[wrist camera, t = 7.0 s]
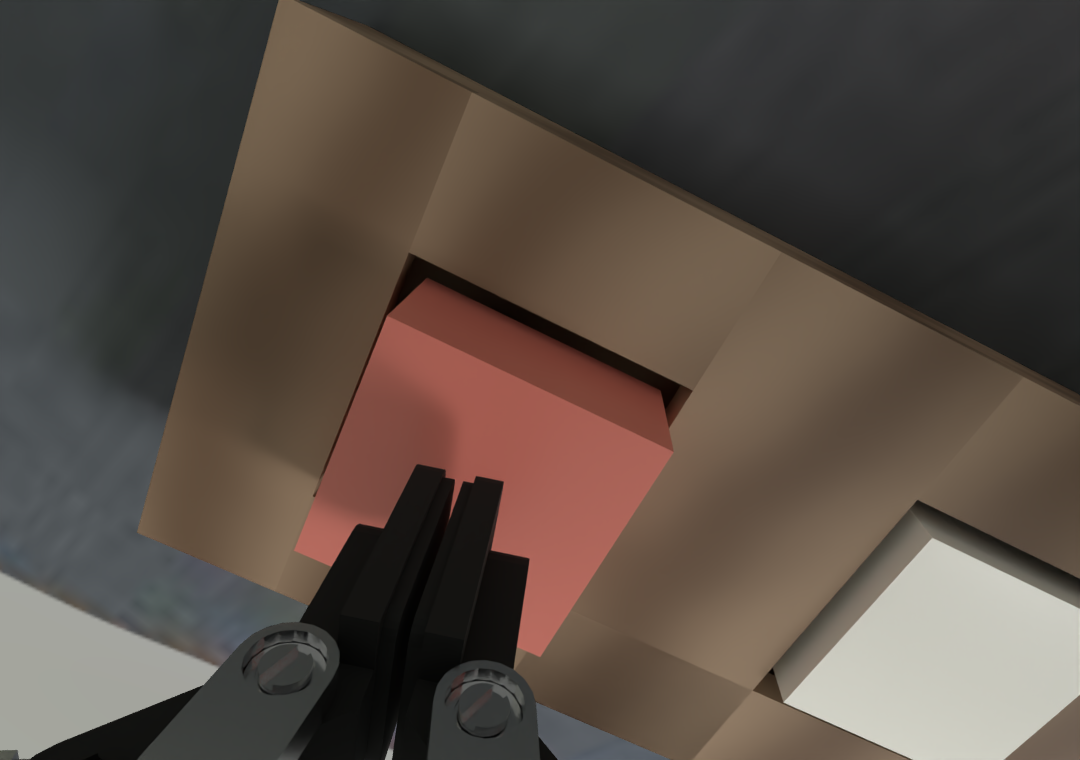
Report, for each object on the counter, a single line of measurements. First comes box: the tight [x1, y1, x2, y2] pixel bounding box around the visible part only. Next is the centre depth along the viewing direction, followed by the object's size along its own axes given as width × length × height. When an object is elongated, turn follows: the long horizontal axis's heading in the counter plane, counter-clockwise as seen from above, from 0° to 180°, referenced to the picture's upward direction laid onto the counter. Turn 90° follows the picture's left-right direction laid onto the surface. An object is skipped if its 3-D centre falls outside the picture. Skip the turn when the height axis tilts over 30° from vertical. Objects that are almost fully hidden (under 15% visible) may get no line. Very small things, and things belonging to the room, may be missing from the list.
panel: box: [137, 0, 1080, 760], centre depth 19 cm, size 28×14×5 cm, turn 64°
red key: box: [294, 278, 674, 657], centre depth 15 cm, size 6×6×3 cm
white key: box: [773, 500, 1080, 760], centre depth 18 cm, size 6×6×3 cm
